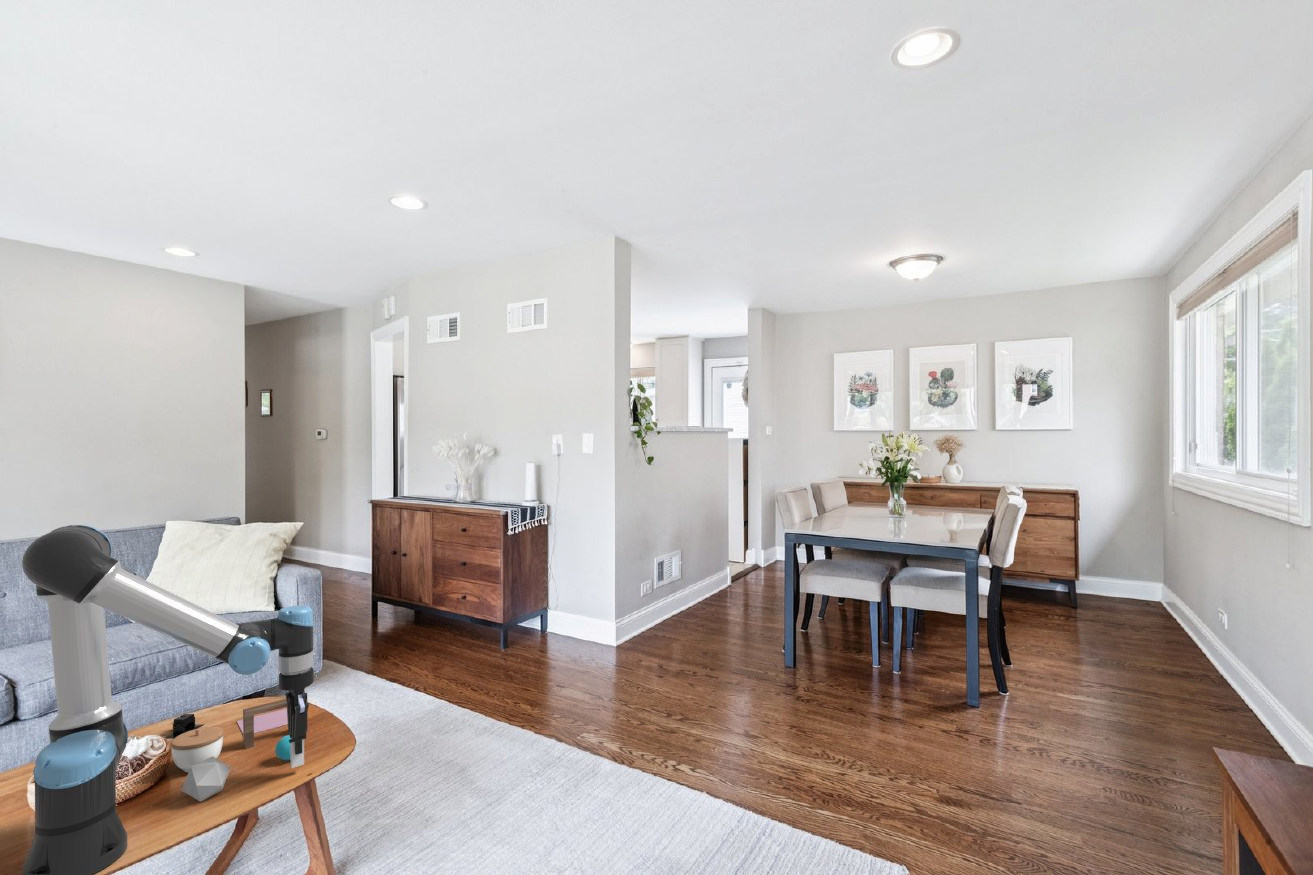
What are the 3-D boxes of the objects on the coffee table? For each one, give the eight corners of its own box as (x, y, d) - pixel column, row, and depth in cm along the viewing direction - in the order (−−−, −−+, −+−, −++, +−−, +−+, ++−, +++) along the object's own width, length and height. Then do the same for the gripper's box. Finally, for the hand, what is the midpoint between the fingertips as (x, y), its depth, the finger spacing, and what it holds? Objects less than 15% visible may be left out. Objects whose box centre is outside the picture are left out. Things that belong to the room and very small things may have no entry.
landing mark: (244, 736, 176) (244, 735, 176) (236, 721, 186) (236, 720, 186) (296, 722, 185) (296, 721, 185) (286, 708, 195) (286, 708, 195)
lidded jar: (172, 782, 152) (172, 743, 153) (170, 765, 161) (170, 728, 161) (225, 767, 159) (225, 730, 159) (221, 751, 168) (221, 716, 168)
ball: (278, 767, 159) (277, 743, 159) (273, 758, 163) (273, 735, 163) (304, 759, 163) (304, 735, 163) (299, 750, 167) (299, 728, 167)
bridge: (307, 731, 179) (307, 697, 179) (245, 748, 169) (244, 712, 169) (305, 727, 181) (304, 694, 181) (243, 744, 171) (243, 709, 171)
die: (230, 799, 146) (241, 754, 151) (193, 796, 139) (206, 749, 145) (207, 806, 148) (218, 761, 154) (169, 804, 142) (182, 757, 147)
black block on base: (189, 723, 187) (189, 706, 187) (214, 723, 187) (214, 706, 187) (152, 744, 174) (152, 726, 174) (179, 744, 173) (178, 726, 173)
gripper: (319, 672, 154) (320, 769, 153) (306, 659, 163) (307, 750, 163) (284, 680, 149) (285, 780, 148) (273, 666, 158) (274, 760, 158)
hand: (297, 765), depth 156 cm, fingers closed
